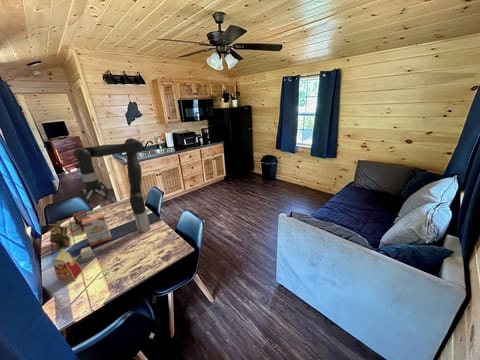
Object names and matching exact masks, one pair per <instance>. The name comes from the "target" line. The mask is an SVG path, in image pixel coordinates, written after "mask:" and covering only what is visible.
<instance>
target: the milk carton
mask: <svg viewBox="0 0 480 360" xmlns="http://www.w3.org/2000/svg"><path fill="white" fill-rule="evenodd" d="M59 251H60V252H58V253H57V254H56V257H55V258H54V259H53V261H52V262H53V267H54V271H55V275H56V277H57V280H58V282H59V283H62V284H64V283H65V284H69V283H72V282H75V281H77V279H78V277H79V276H80V275H81V274H82V273H83V272H84V270H83V269H82V267H81V266H80V263H79V262H78V261H77V260H76V259H75V258H74V257H73V256H72V255H71V253H69V252H68V251H66V250H64V249H63V248H62V249H61V250H59Z"/></svg>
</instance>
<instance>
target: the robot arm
mask: <svg viewBox="0 0 480 360" xmlns="http://www.w3.org/2000/svg"><path fill="white" fill-rule="evenodd" d="M142 149H143V143H142V142H141V141H140V140H139V139H137V138H132V137H129V138H127V139H125V141H124V143H118V144H117V143H116V144H115V143H114V144H101V145H96V146H90V147H88V146H86V147H78V148H76V149H75V150H73V152H72V155H73V156H74V158H75V159H77V160H78V164H79V166H78V168H79V171H80V174H81V178H82V181H83V184H84V186H85V189H81V190H80V194H81V197H82V200H87V204H90V205H91V204H92V200H91V198H90V196H91V195H97V194H100V195H102V196H103V198H104V199H103V200H104V202H105V201H107V200H108V197H107V195H109V190H108V187H107V185H106V184H104V185H100V180H99V179H98V175H97V172H96V171H95V167H94V165H93V159H92V158H101V157H106V156H111V155H117V154H124V153H125V154H126V165H127V166H126V168H127V177H128V183H129V186H130V187H129V188H130V190H129V203H130V207H131V210H132V213H133V217H134V220H135V224H136V227H137V231H138V232H139V233H147V232H148V231H150V230H151V223H150V221H149V217H148V213H147V209H146V205H145V201H144V196H143V193H142V187H141V185H142V178H143V177H142V175H143V173H142V167H141V164H140V161H139V158H138V152H141V150H142ZM102 189H103V190H104V191H103V190H102ZM86 192H87V193H88V194H87V196H86V194H85V193H86Z"/></svg>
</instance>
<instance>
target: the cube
mask: <svg viewBox="0 0 480 360" xmlns="http://www.w3.org/2000/svg"><path fill="white" fill-rule="evenodd" d="M91 247H92V246H86V247H84V248H81V249H80V253H79V255H81V256H82V258H83V259H85V258H88V257H91V256H92V250H93V249H92V248H91Z"/></svg>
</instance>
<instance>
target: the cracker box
mask: <svg viewBox="0 0 480 360" xmlns="http://www.w3.org/2000/svg"><path fill="white" fill-rule="evenodd" d="M90 217H91V218H87V219H83V220H82V225H83V228H84V231H83V232H84V234H85V235H86V238H87V241H88V244H89V247H92V246H96V245H99V244H101V243H104V242H106V241H107V242H108V241H110V240H112V234H111V232H110V229H109V225H108V222H107V219H106V216H105V214H104V213H102V214H98V215H95V216H90Z"/></svg>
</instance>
